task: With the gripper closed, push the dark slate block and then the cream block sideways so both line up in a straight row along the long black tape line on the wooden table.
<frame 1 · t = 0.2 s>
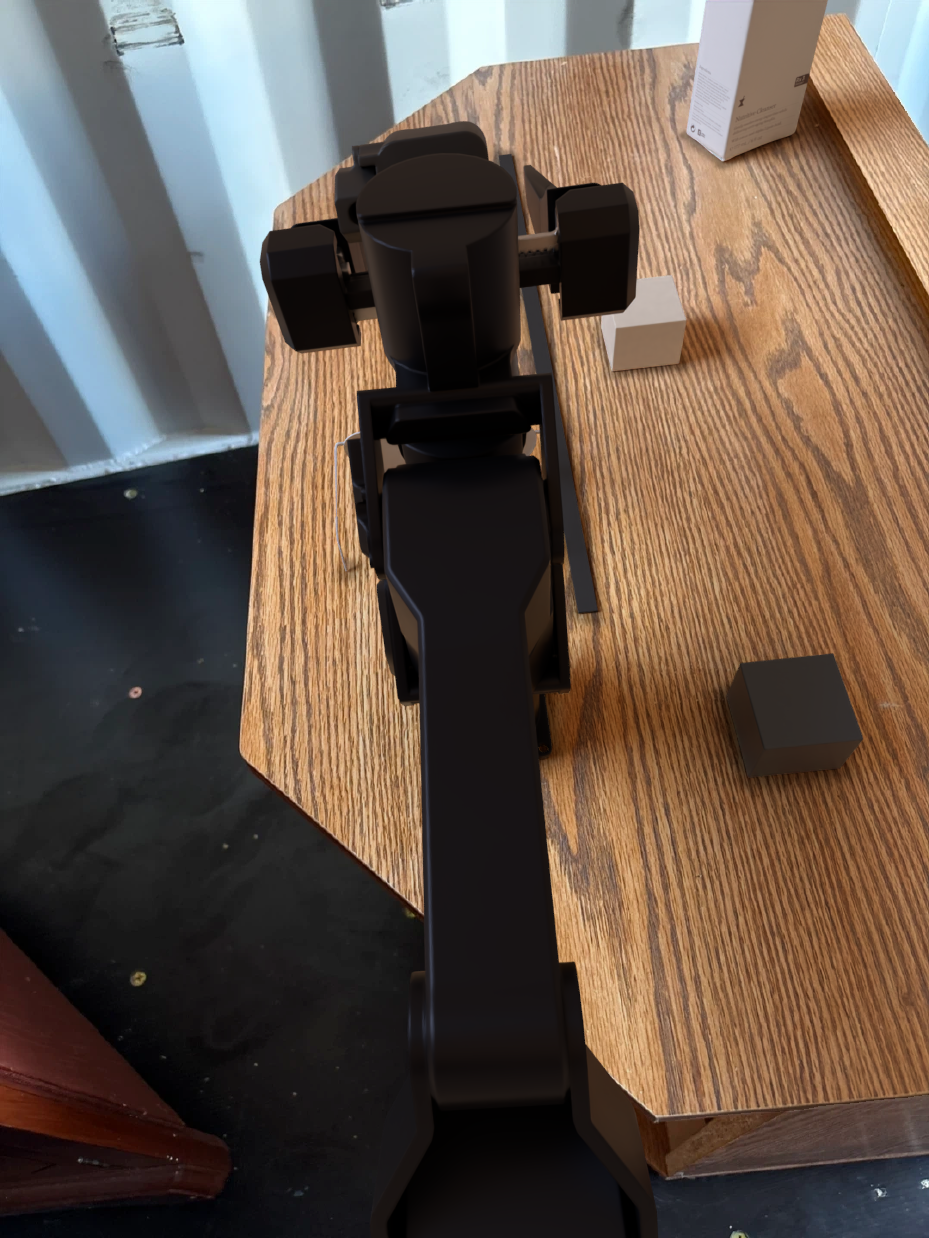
hand: (446, 184, 49), 17 cm above the table, tool horizontal, fingers open, 9 cm apart
slate block: (781, 731, 47), on the table
cream block: (639, 345, 64), on the table
line tape: (515, 214, 74), on the table
cosmetic box: (739, 136, 78), on the table
sunglasses: (444, 517, 57), on the table
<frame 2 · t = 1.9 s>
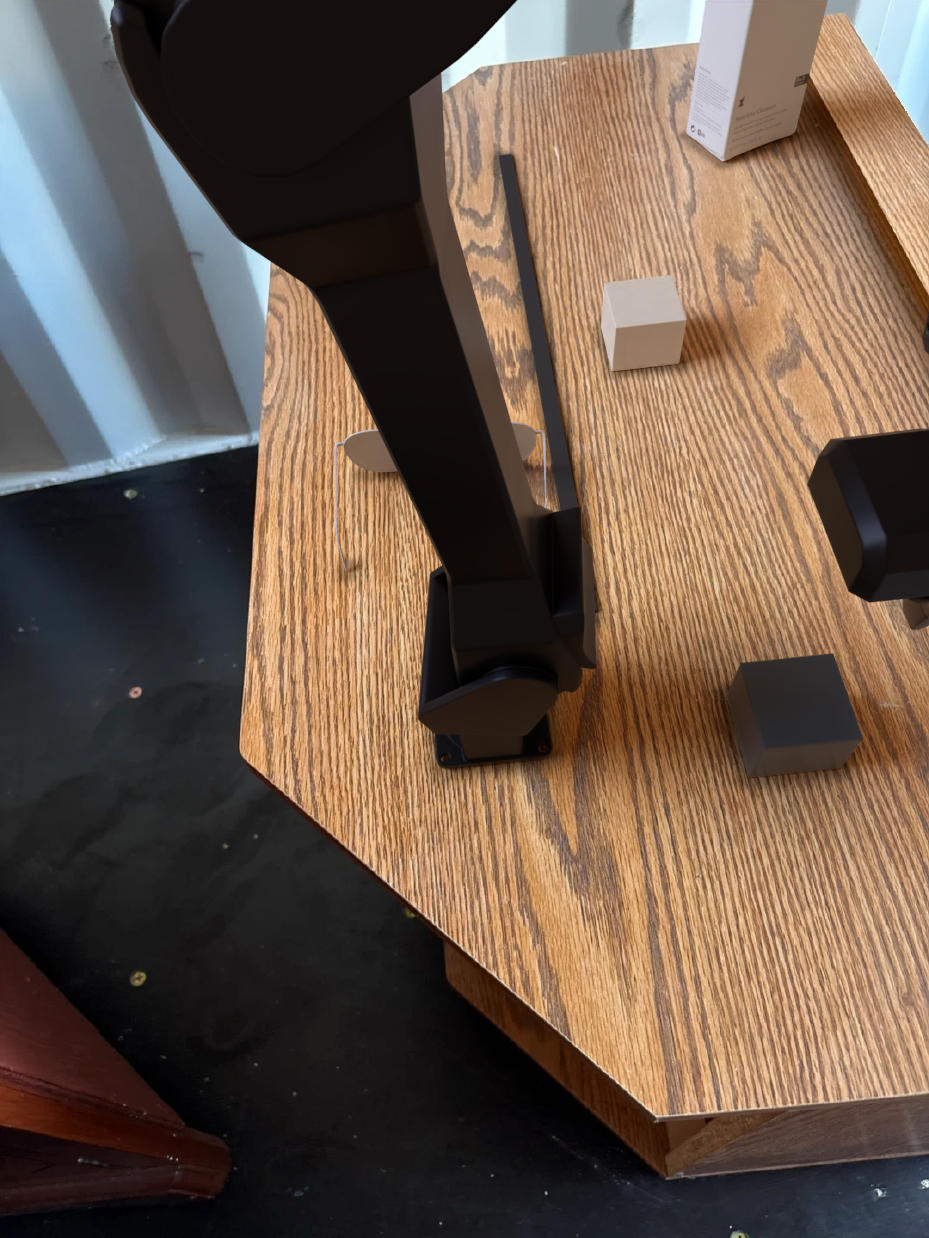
nothing on the table moved.
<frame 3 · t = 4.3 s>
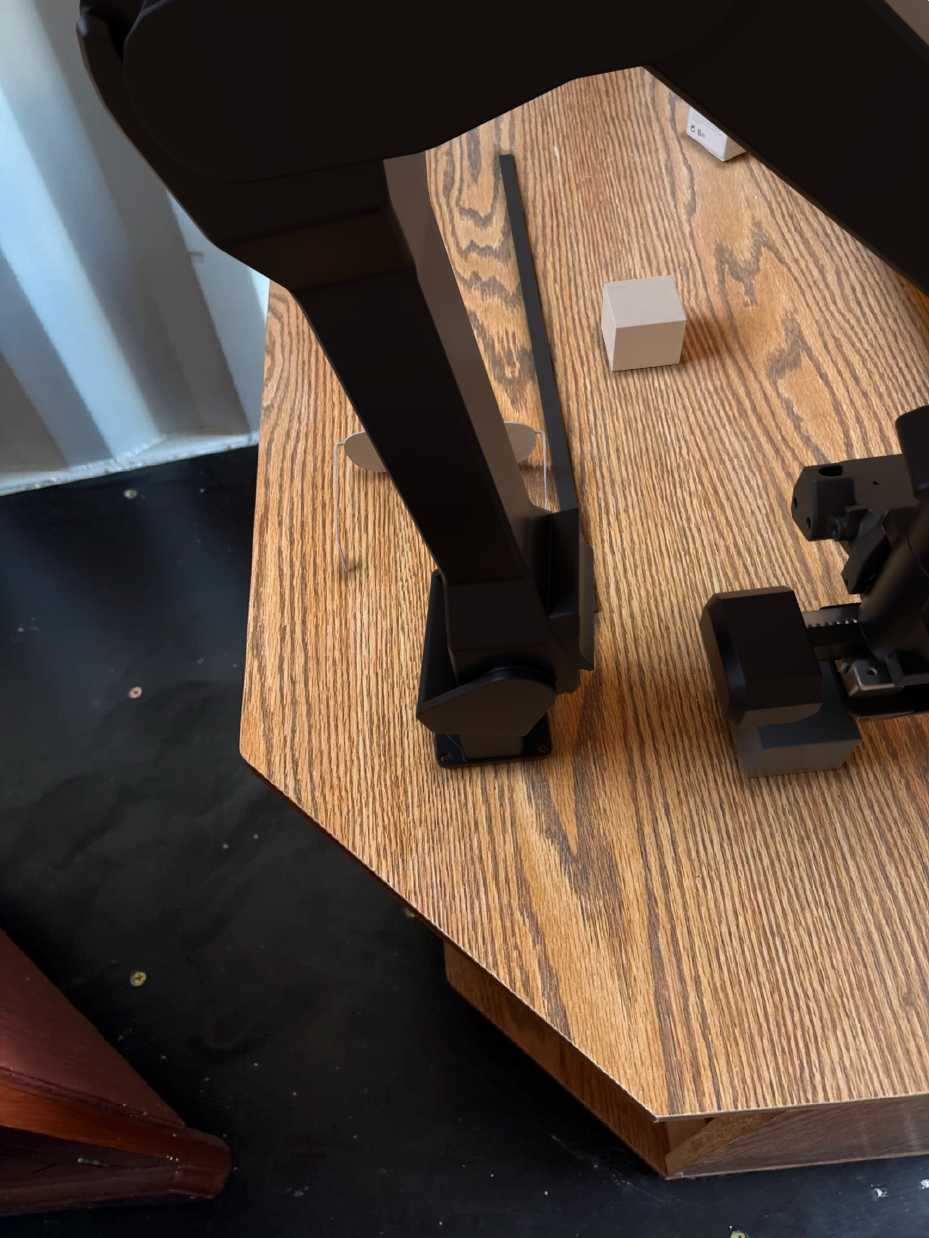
hand: (862, 714, 46), 1 cm above the table, tool pointing down, fingers closed
slate block: (780, 731, 47), on the table, touching gripper
everything else where it was.
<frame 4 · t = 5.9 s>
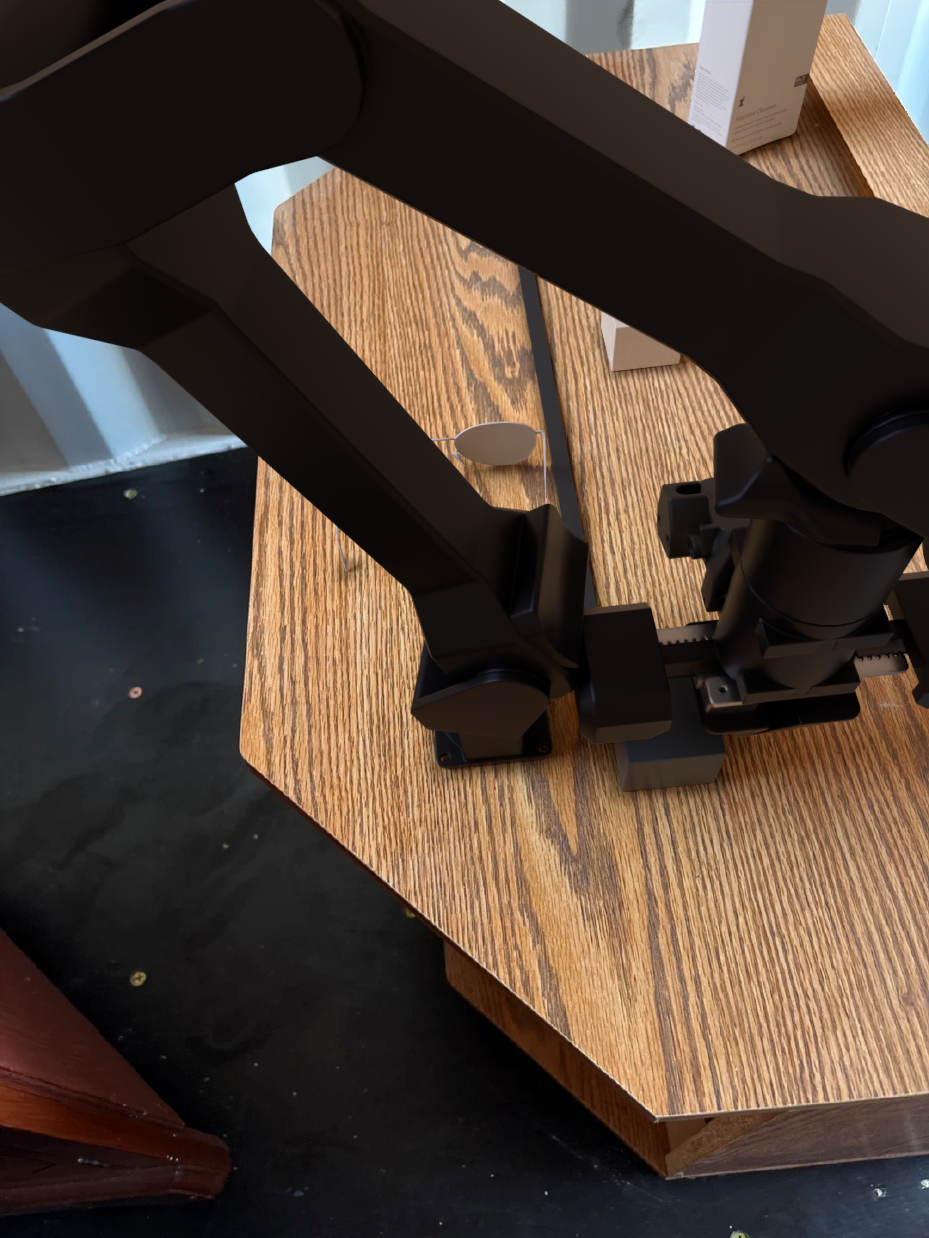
hand: (740, 728, 46), 1 cm above the table, tool pointing down, fingers closed
slate block: (659, 744, 47), on the table, touching gripper
everything else where it was.
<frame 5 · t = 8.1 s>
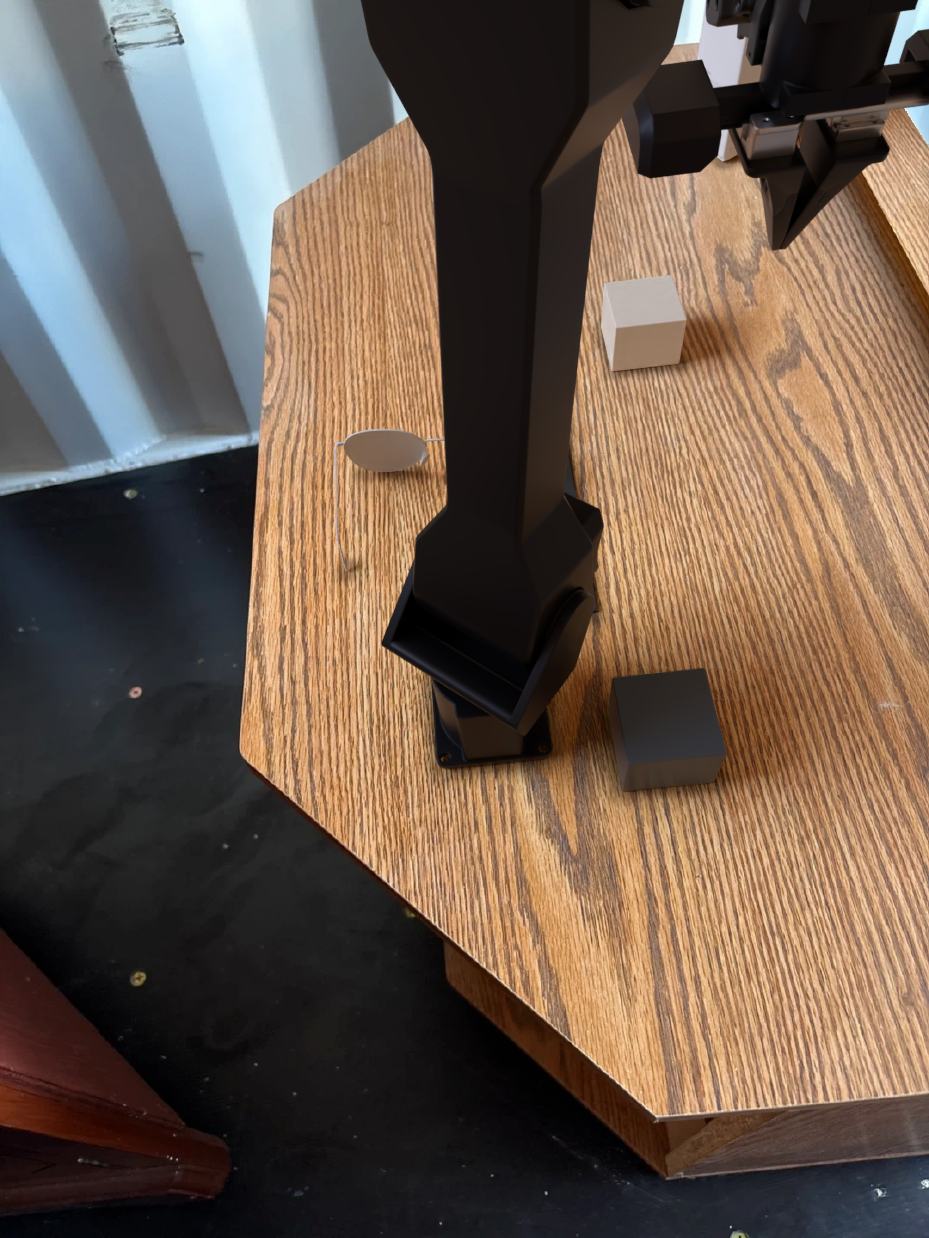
hand: (776, 245, 51), 12 cm above the table, tool pointing down, fingers closed
slate block: (659, 744, 47), on the table
everything else where it was.
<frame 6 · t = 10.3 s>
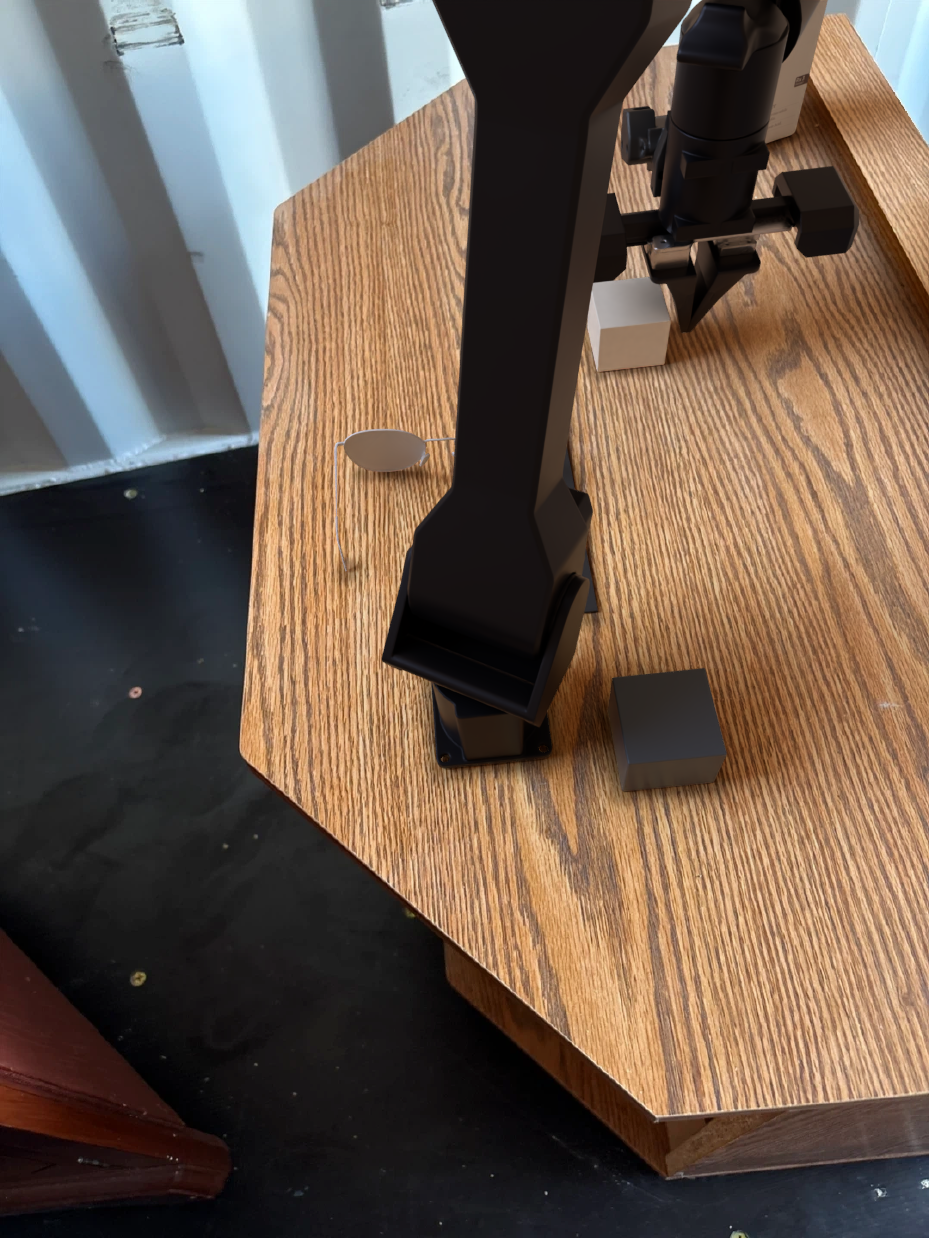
hand: (684, 329, 63), 1 cm above the table, tool pointing down, fingers closed
cream block: (625, 345, 64), on the table, touching gripper
everything else where it was.
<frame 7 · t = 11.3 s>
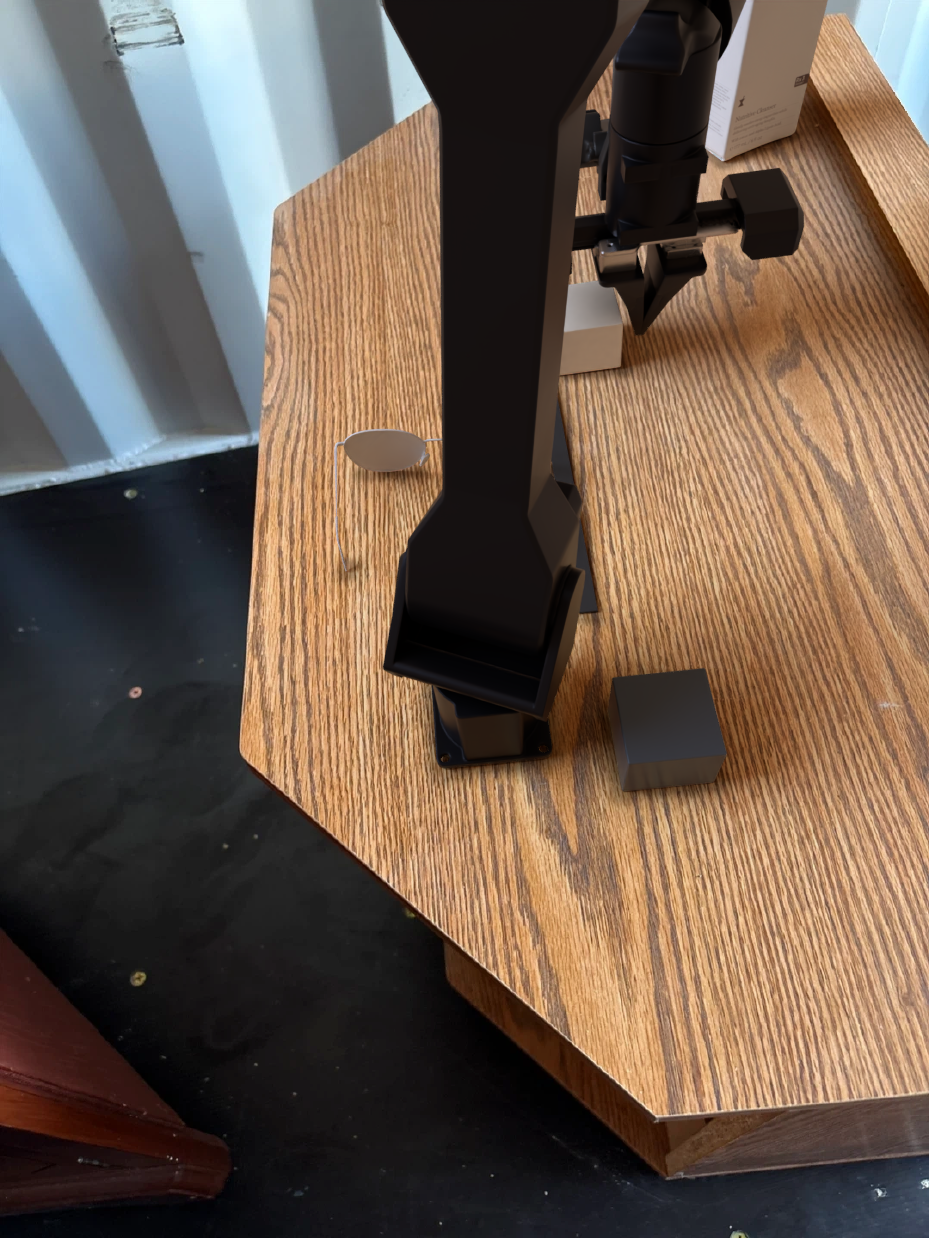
hand: (637, 331, 63), 1 cm above the table, tool pointing down, fingers closed
cream block: (582, 349, 64), on the table, touching gripper, line tape
everything else where it was.
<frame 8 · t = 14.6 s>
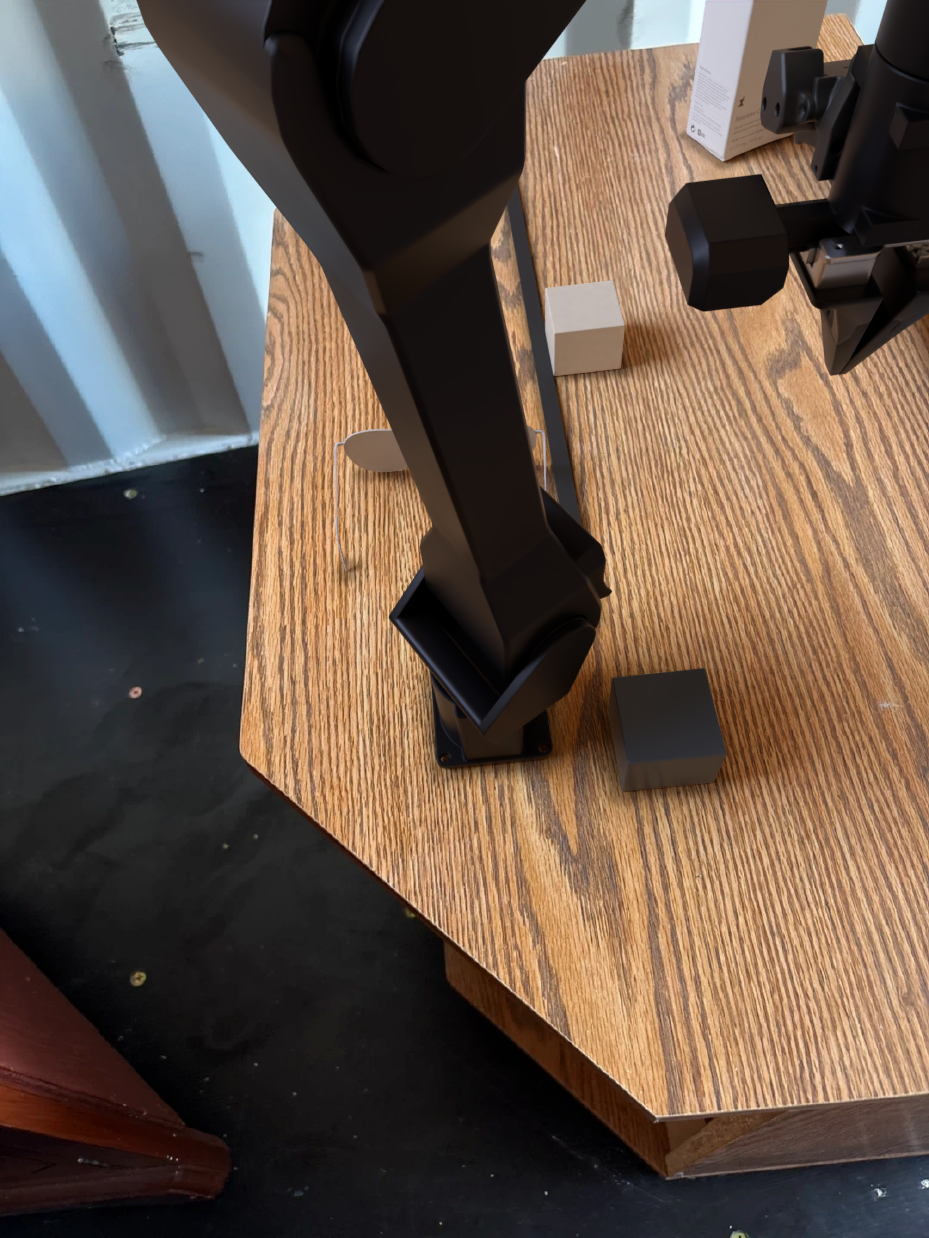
hand: (834, 369, 45), 12 cm above the table, tool pointing down, fingers closed
cream block: (582, 350, 64), on the table
everything else where it was.
at the end: cream block inside the target area on the table beside the line tape (14.7 cm from its centre), on the table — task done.
